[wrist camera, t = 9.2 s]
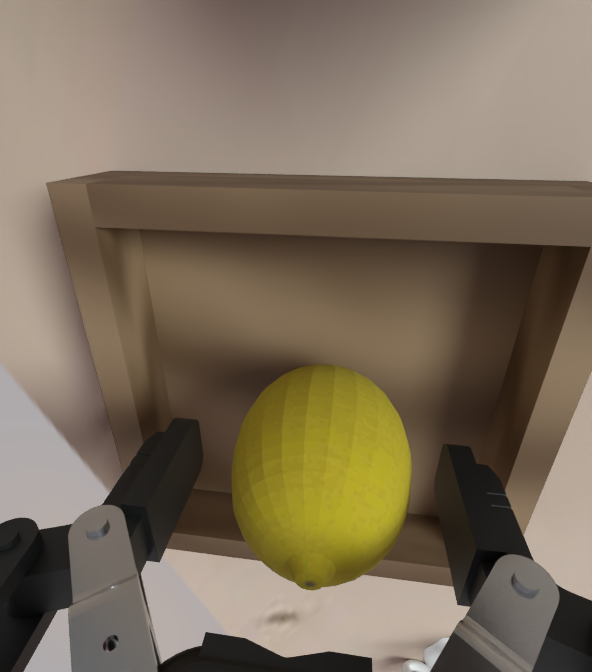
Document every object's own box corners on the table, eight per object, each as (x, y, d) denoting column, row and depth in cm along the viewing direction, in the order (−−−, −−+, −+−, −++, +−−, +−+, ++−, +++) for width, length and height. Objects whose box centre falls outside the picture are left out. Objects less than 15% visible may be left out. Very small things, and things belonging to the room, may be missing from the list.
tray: (112, 170, 14) (46, 182, 11) (588, 181, 13) (662, 199, 10) (172, 486, 22) (142, 545, 19) (477, 521, 20) (499, 592, 17)
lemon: (279, 443, 18) (231, 645, 11) (247, 336, 16) (160, 506, 9) (404, 434, 17) (440, 652, 10) (390, 317, 15) (423, 495, 8)
